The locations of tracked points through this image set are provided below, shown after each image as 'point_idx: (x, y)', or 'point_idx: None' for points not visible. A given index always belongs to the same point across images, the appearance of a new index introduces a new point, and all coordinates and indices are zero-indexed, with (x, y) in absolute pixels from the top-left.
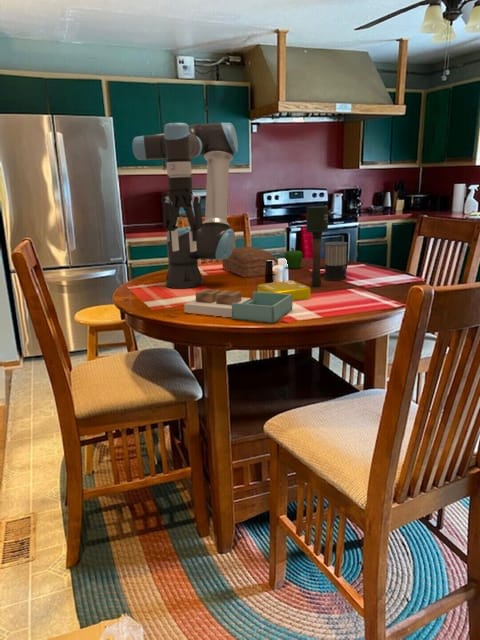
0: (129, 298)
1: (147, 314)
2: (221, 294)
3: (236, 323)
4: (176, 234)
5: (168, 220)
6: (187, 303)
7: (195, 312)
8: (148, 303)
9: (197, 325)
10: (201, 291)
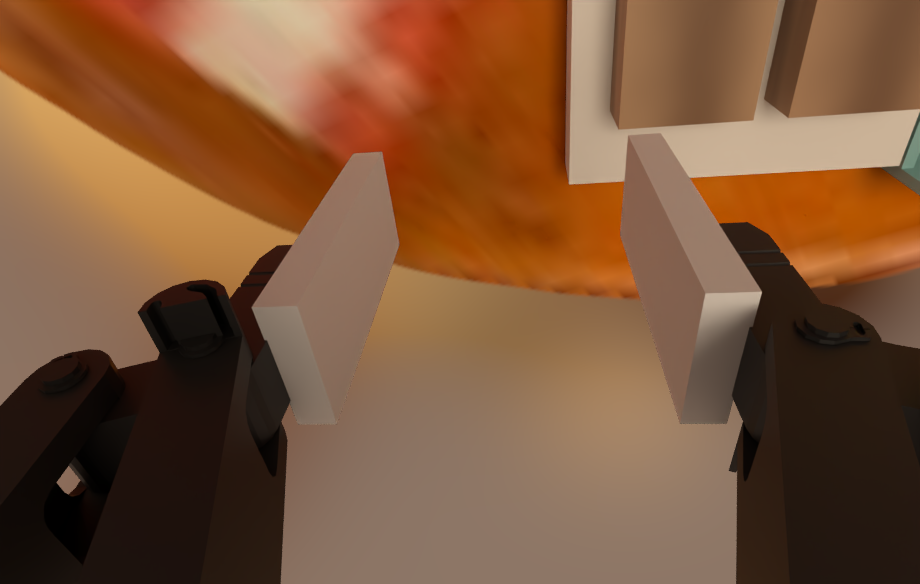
0: (8, 8)
1: (402, 242)
2: (833, 106)
3: (909, 213)
4: (332, 301)
5: (63, 552)
6: (578, 163)
7: None
8: (224, 66)
9: None
10: (644, 79)
